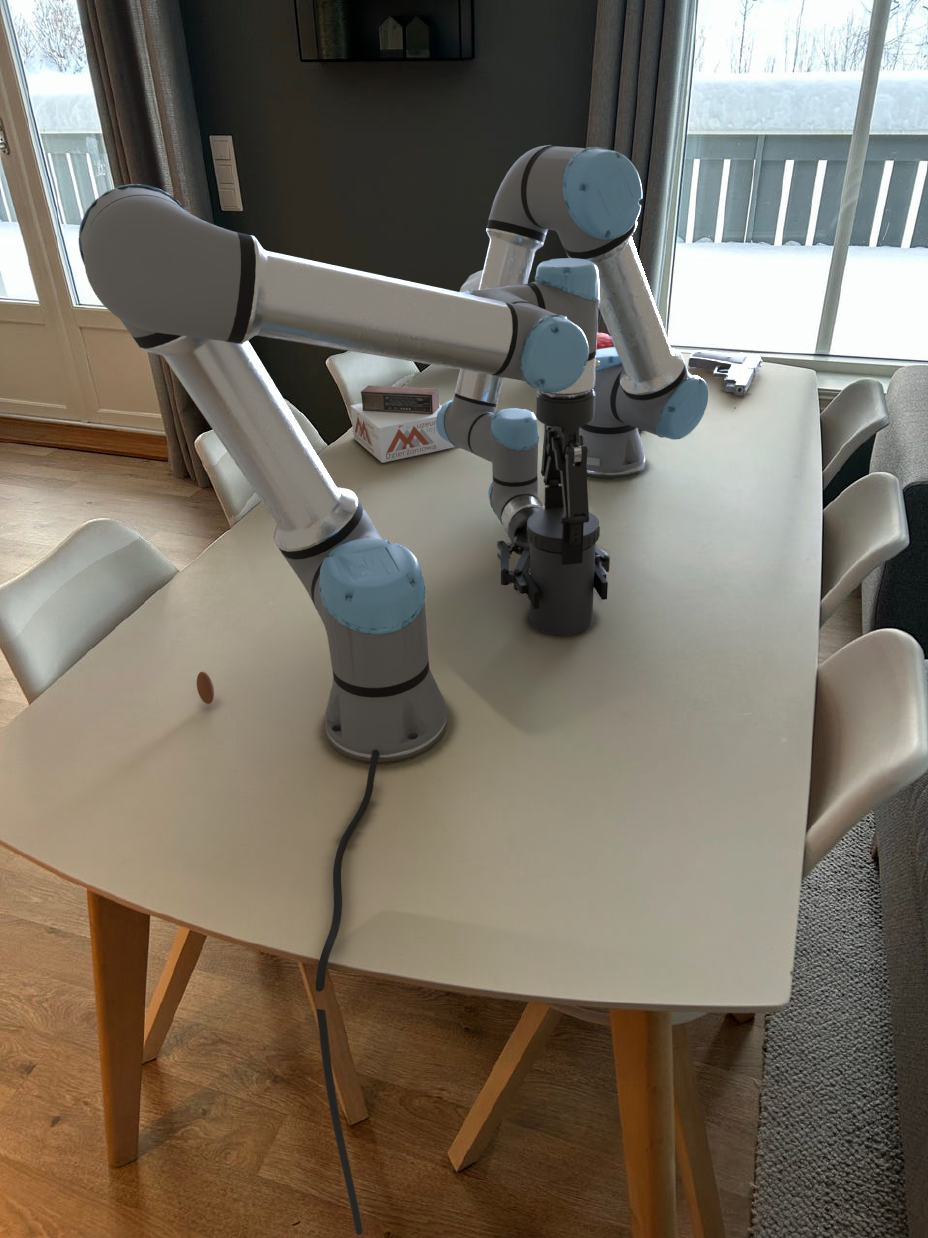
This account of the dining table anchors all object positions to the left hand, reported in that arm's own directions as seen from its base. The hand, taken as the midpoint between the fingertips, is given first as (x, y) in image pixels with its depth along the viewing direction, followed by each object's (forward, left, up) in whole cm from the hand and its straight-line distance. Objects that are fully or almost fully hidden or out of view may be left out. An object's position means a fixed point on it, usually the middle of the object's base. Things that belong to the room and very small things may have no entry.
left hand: (562, 545), depth 127 cm
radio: (+68, +43, -12) cm, 81 cm away
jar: (0, 0, -12) cm, 12 cm away
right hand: (-4, -2, -6) cm, 7 cm away
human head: (+127, +35, -12) cm, 132 cm away
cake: (+123, +7, -12) cm, 123 cm away
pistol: (+120, -25, -12) cm, 123 cm away
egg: (-28, +43, -12) cm, 53 cm away
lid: (0, 0, +3) cm, 3 cm away
